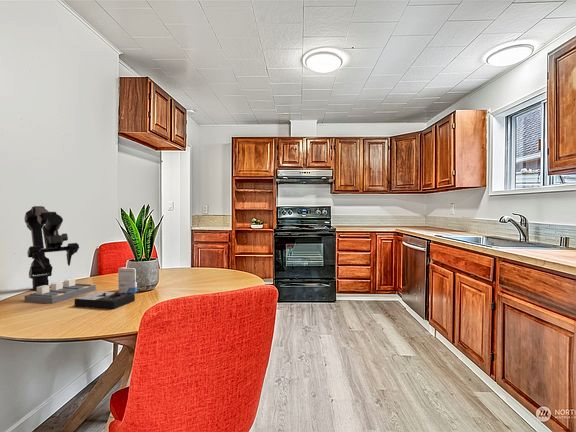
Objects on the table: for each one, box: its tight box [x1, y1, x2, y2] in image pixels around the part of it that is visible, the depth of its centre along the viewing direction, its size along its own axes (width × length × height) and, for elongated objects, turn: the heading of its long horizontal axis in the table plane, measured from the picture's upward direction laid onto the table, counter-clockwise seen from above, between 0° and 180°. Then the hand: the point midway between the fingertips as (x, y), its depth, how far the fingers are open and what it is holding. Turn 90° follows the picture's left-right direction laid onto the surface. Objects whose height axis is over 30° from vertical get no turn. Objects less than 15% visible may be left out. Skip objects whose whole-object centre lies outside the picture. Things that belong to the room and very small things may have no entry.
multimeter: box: [74, 291, 136, 310], centre depth 147 cm, size 13×19×5 cm
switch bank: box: [23, 282, 97, 304], centre depth 161 cm, size 15×24×3 cm, turn 167°
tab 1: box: [36, 285, 50, 294], centre depth 154 cm, size 3×4×3 cm
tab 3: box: [63, 278, 76, 287], centre depth 168 cm, size 3×4×3 cm
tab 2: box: [50, 281, 64, 290], centre depth 161 cm, size 3×4×3 cm
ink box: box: [117, 266, 138, 294], centre depth 167 cm, size 9×5×12 cm, turn 84°
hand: (57, 266), depth 152 cm, fingers open, 9 cm apart
